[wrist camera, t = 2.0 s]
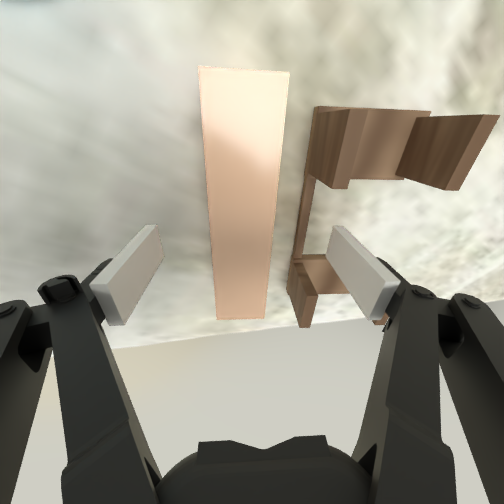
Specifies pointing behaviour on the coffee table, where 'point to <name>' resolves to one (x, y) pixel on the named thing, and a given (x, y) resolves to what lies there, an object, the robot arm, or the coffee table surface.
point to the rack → (376, 173)
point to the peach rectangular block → (242, 180)
